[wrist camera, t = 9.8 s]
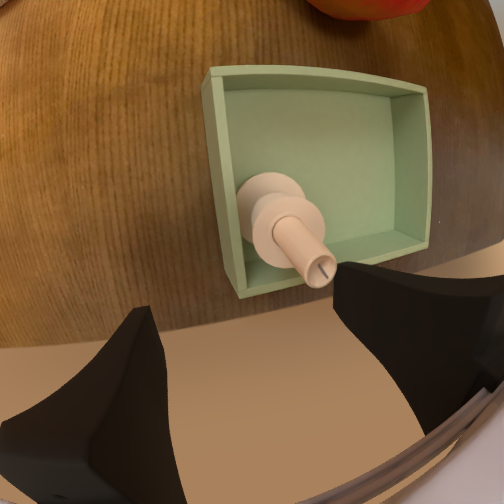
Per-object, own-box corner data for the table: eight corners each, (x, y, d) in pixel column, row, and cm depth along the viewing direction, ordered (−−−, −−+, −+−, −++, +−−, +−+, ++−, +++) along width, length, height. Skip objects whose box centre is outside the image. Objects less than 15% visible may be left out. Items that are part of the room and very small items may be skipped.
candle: (301, 166, 19) (389, 196, 9) (308, 237, 21) (383, 317, 11) (224, 179, 18) (242, 221, 9) (238, 251, 20) (265, 350, 11)
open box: (394, 233, 25) (428, 247, 20) (224, 270, 21) (239, 299, 17) (389, 92, 20) (426, 87, 16) (200, 86, 16) (209, 66, 12)
